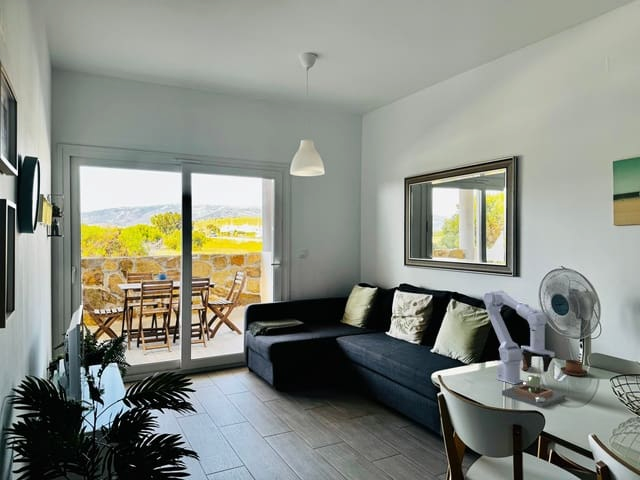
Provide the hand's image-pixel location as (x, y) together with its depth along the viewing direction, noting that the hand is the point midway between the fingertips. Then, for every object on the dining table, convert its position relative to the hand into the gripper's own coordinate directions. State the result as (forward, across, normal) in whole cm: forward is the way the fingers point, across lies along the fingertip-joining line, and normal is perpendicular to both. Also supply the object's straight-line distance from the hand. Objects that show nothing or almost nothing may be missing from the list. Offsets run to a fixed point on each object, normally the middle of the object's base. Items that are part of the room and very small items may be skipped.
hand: (537, 369), depth 199 cm
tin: (+10, +24, -27) cm, 37 cm away
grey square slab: (+9, -4, +10) cm, 14 cm away
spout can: (+7, -4, +10) cm, 13 cm away
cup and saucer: (+10, +4, -40) cm, 41 cm away
